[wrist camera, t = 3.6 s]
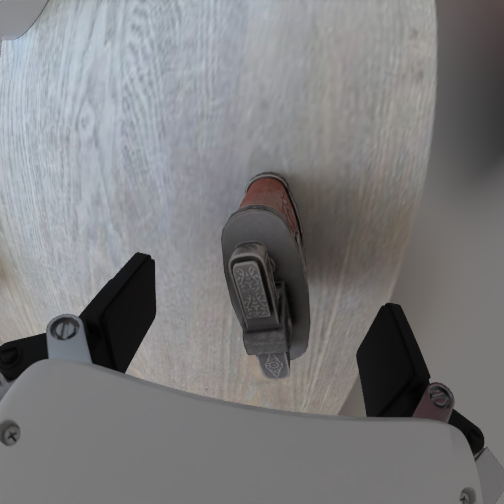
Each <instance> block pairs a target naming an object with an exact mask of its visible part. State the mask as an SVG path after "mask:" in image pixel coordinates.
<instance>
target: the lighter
mask: <svg viewBox="0 0 504 504" xmlns="http://www.w3.org/2000/svg"><path fill="white" fill-rule="evenodd" d="M221 242H222V253H223V264H224V273H225V278H226V282H227V286H228V290H229V294H230V299H231V303H232V306H233V308H234V310H235V313H236V315H237V317H238V320H239V322H240V325H241V327H242V329H243V342H244V347H245V349H246V352H247V354H248V355H256V357H257V360H258V363H259V366H260V369H261V372H262V374H263V376H264V377H265V378H268V379H282V378H286V377H288V376H289V374H290V360H293V359H296V358H298V357H300V356H301V355H302V354H303V353H305V351H306V349H307V347H308V339H309V331H310V306H309V290H308V283H307V270H306V259H305V251H304V240H303V230H302V225H301V221H300V217H299V213H298V209H297V205H296V203H295V200H294V198H293V195H292V193H291V190H290V188H289V186H288V183H287V182H286V180H285V179H284V178H283V177H282V176H280V175H279V174H277V173H273V172H263V173H260V174H258V175H256V176H255V177H253V178H252V179H251V180H250V182H249V183H248V185H247V187H246V190H245V198H244V199H243V201H242V203H241V205H240V207H239V209H238V210H237V211H236V212H234V213H233V214H232V215H231V216H230V218H229V219H228V221H227V223H226V224H225V226H224V228H223V230H222V237H221Z"/></svg>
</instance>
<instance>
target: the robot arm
mask: <svg viewBox="0 0 504 504" xmlns="http://www.w3.org/2000/svg"><path fill="white" fill-rule="evenodd" d="M155 316H156V292H155V261H154V260H153V259H151V256H150V255H147V254H143V253H139V252H137V253H135V254H134V256H133V257H132V258H131V259H130V260H129V261H128V262H127V263H126V264H125V265H124V267H123V268H122V269H121V270H120V271H119V272H118V273H117V274H116V275H115V277H114V278H113V279H111V280H110V281H108V283H107V284H106V285H105V286H104V287H103V288H102V289H101V291H100V292H99V293H98V294H97V295H96V296H95V298H94V299H93V300H92V301H91V302H90V304H89V305H88V306H87V307H86V308H85V310H84V311H83V312H82V313H81V314H80V316H79V317H77V316H75V315H72V314H62V315H59V316H57V317H55V318H53V319H52V320H51V321H50V322H49V324H48V326H47V329H46V333H43V334H39V335H35V336H31V337H27V338H23V339H19V340H14V341H10V342H7V343H4V344H3V345H2V346H0V504H495V503H496V501H497V500H498V498H499V497H500V496H501V494H502V493H503V491H504V469H503V467H502V466H501V465H500V463H499V462H498V461H497V459H496V458H495V456H494V455H493V454H492V453H491V451H490V450H489V449H488V447H486V448H483V447H484V436H483V433H482V432H481V430H480V429H479V428H478V427H477V426H475V425H474V424H473V423H472V422H470V421H469V420H467V419H466V418H465V417H464V416H462V415H461V414H460V413H458V412H457V411H456V410H454V409H453V407H454V402H455V401H454V396H453V394H452V392H451V391H450V389H449V388H448V387H446V386H445V385H443V384H441V383H438V382H434V383H431V384H430V383H429V379H430V374H429V372H428V369H427V366H426V364H425V361H424V359H423V356H422V354H421V351H420V349H419V346H418V344H417V341H416V339H415V337H414V334H413V332H412V330H411V328H410V325H409V323H408V321H407V319H406V316H405V315H404V312H403V310H402V308H401V306H400V305H398V304H393V303H386V304H385V306H384V305H383V306H381V308H380V310H379V312H378V314H377V315H376V317H375V319H374V321H373V323H372V325H371V327H370V329H369V331H368V332H367V334H366V336H365V338H364V340H363V341H362V343H361V345H360V347H359V348H358V350H357V354H356V359H357V364H358V369H359V374H360V379H361V385H362V390H363V396H364V402H365V409H366V415H367V417H353V416H334V415H320V414H309V413H300V412H291V411H283V410H276V409H269V408H262V407H256V406H250V405H244V404H239V403H234V402H229V401H224V400H219V399H214V398H210V397H205V396H201V395H197V394H193V393H189V392H185V391H181V390H177V389H174V388H170V387H167V386H163V385H160V384H156V383H153V382H150V381H146V380H143V379H140V378H136V377H133V376H130V375H127V374H125V372H126V370H127V368H128V366H129V364H130V362H131V361H132V359H133V357H134V355H135V353H136V351H137V349H138V348H139V346H140V344H141V342H142V340H143V338H144V337H145V335H146V333H147V331H148V329H149V328H150V326H151V324H152V322H153V320H154V319H155Z"/></svg>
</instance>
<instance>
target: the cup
mask: <svg viewBox="0 0 504 504" xmlns="http://www.w3.org/2000/svg"><path fill="white" fill-rule="evenodd" d="M47 1H48V0H0V55H1V45H2V40H11V41H12V40H15V39H17V38H19V37H20V36H21V35H23V34H24V33H25V32H26V31H27V30H28V29H29V28H30V27H31V26H32V24H33V23H34V22H35V21H36V19H37V18H38V16H39V15H40V14H41V12H42V10H43V9H44V7H45V5H46V3H47Z"/></svg>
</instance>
